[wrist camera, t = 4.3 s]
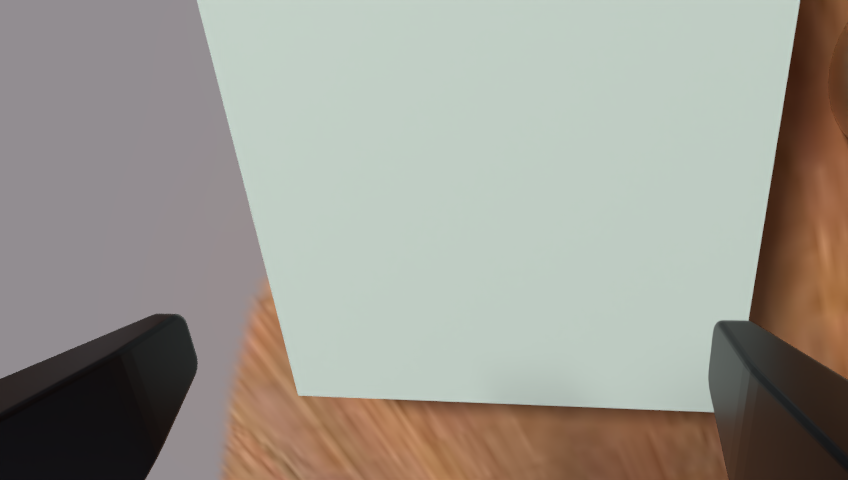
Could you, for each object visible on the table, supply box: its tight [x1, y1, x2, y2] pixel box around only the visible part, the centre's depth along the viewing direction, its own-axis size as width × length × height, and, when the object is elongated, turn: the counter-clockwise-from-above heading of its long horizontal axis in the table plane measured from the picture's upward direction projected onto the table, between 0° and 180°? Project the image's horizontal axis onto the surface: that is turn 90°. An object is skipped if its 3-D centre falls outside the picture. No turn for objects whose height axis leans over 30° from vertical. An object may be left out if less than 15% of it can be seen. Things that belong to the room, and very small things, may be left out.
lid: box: [197, 0, 800, 412], centre depth 17 cm, size 14×16×1 cm
